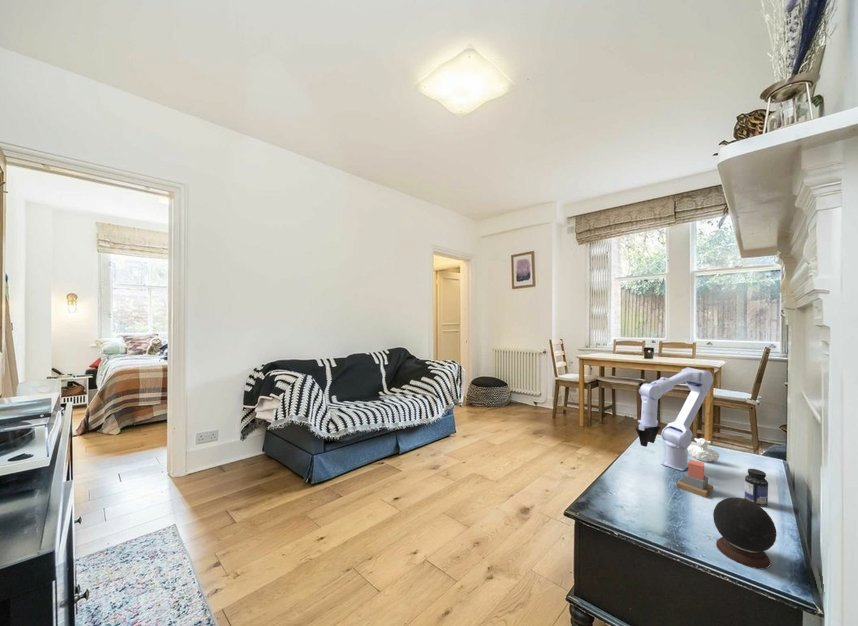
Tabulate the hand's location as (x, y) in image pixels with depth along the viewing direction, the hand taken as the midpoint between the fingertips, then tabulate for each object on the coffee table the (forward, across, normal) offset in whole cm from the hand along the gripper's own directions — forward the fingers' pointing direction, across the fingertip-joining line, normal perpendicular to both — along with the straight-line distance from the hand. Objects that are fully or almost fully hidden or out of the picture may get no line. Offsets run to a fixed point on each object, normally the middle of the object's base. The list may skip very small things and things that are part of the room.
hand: (647, 444), depth 151 cm
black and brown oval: (+11, +36, +38) cm, 54 cm away
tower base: (+11, +4, +18) cm, 22 cm away
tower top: (+8, +3, +18) cm, 20 cm away
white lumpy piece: (+10, -32, +11) cm, 35 cm away
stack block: (+6, +3, +18) cm, 19 cm away
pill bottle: (+10, -4, +34) cm, 36 cm away
